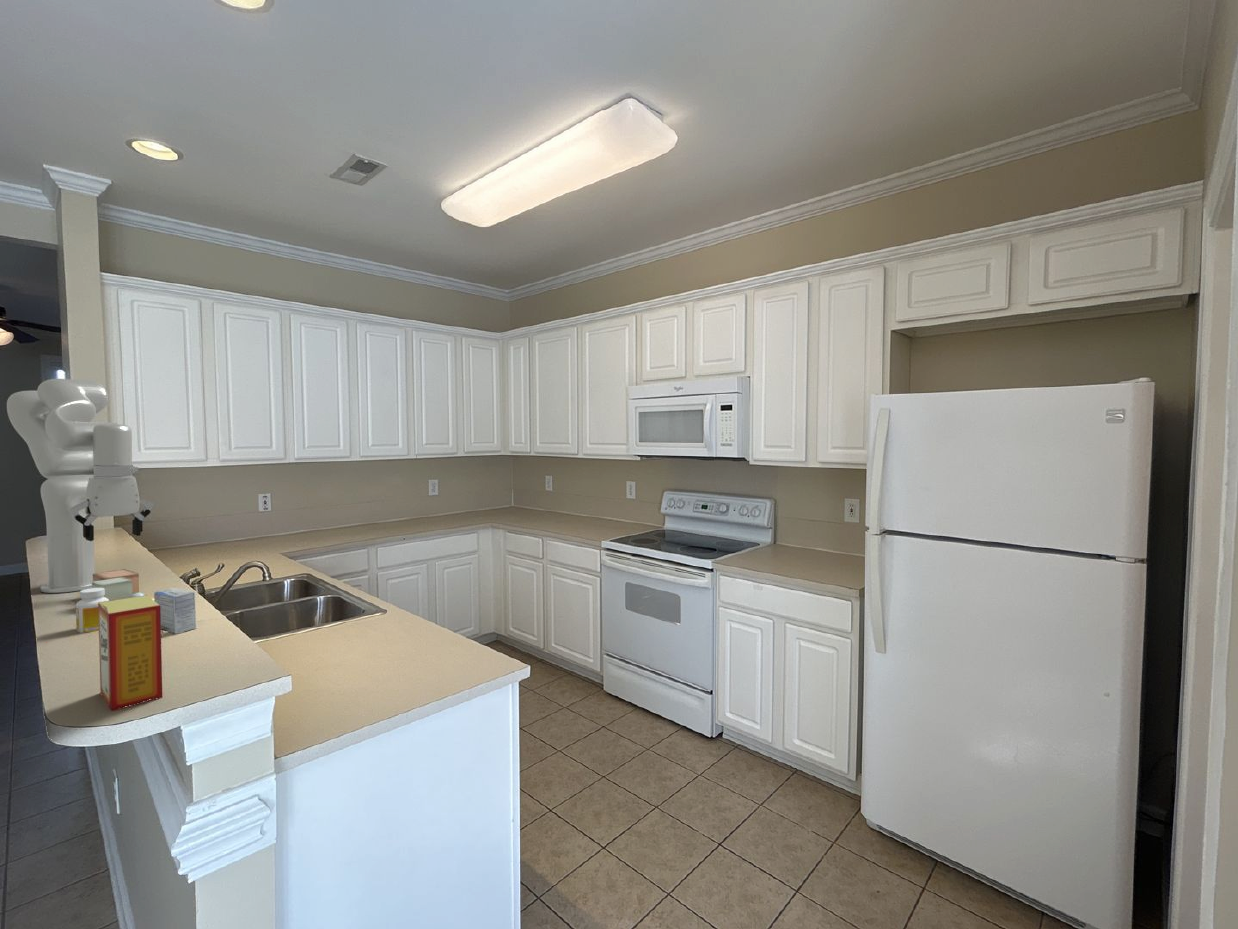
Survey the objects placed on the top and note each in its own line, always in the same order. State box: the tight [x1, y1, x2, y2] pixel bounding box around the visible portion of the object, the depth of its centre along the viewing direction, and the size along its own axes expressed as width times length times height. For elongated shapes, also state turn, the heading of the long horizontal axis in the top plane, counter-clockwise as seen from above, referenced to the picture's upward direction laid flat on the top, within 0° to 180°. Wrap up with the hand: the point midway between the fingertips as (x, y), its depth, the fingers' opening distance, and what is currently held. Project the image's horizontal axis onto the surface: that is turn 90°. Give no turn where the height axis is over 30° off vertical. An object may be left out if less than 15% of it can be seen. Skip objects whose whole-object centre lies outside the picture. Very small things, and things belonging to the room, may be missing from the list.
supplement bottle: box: [75, 588, 109, 633], centre depth 126 cm, size 5×5×10 cm
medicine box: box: [153, 587, 197, 635], centre depth 130 cm, size 8×4×9 cm, turn 65°
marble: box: [131, 592, 145, 597], centre depth 144 cm, size 3×3×3 cm
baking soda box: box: [98, 594, 163, 712], centre depth 97 cm, size 10×6×16 cm
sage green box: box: [92, 577, 133, 601], centre depth 143 cm, size 6×6×6 cm
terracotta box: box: [93, 568, 140, 594], centre depth 151 cm, size 9×7×6 cm
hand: (113, 537), depth 150 cm, fingers open, 9 cm apart
